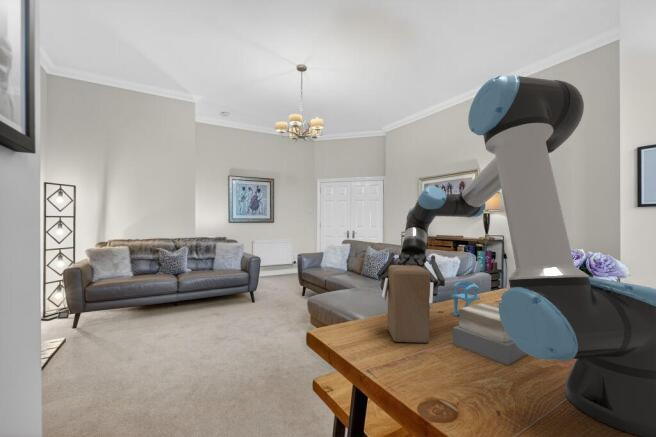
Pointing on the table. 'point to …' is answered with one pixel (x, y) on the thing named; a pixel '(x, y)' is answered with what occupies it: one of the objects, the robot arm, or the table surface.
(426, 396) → the table surface
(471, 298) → the chair
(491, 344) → the tower base
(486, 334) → the tower top
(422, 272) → the block
